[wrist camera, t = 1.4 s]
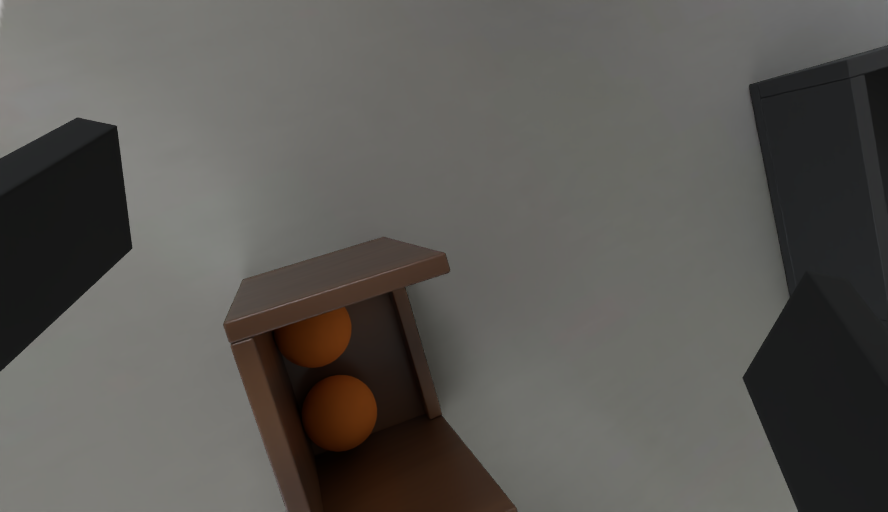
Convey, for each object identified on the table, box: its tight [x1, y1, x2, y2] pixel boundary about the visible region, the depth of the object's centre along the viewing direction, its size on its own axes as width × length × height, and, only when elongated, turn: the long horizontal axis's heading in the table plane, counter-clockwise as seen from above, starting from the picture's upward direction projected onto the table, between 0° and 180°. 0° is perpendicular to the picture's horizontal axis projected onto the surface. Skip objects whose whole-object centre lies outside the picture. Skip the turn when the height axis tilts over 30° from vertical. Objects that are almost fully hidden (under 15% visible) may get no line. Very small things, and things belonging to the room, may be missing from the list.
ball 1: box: [274, 307, 351, 368], centre depth 24 cm, size 3×3×3 cm
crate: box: [223, 237, 518, 512], centre depth 22 cm, size 9×6×10 cm
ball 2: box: [302, 375, 377, 452], centre depth 25 cm, size 3×3×3 cm
